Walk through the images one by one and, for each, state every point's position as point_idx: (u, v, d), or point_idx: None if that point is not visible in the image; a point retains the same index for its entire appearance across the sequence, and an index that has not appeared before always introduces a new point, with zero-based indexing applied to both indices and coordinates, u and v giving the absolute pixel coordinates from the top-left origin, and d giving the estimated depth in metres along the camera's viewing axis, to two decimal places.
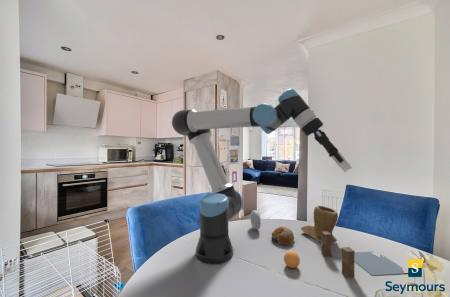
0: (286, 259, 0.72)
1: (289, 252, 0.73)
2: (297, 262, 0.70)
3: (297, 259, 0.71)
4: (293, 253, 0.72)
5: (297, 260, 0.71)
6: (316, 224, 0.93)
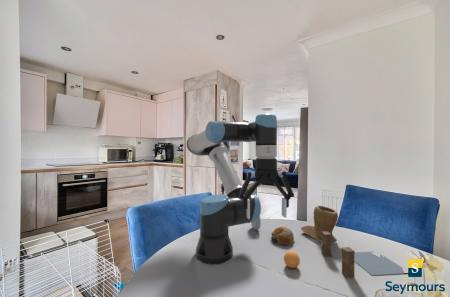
0: (286, 259, 0.72)
1: (289, 252, 0.73)
2: (297, 262, 0.70)
3: (297, 259, 0.71)
4: (293, 253, 0.72)
5: (297, 260, 0.71)
6: (316, 224, 0.93)
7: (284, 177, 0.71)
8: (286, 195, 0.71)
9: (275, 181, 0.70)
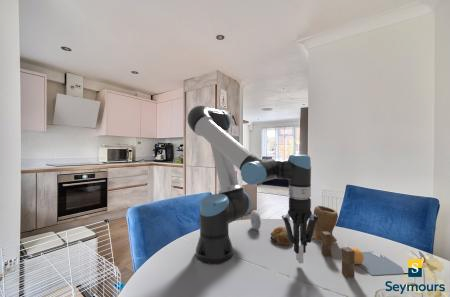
0: (362, 254, 0.74)
1: None
2: (358, 262, 0.72)
3: (358, 263, 0.73)
4: None
5: (358, 263, 0.72)
6: (316, 224, 0.93)
7: (314, 221, 0.72)
8: (304, 240, 0.72)
9: (305, 222, 0.71)
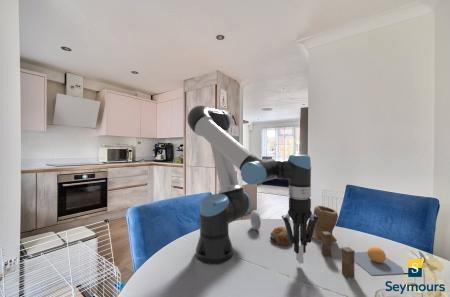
0: (373, 259, 0.74)
1: (370, 251, 0.75)
2: (383, 255, 0.73)
3: (381, 253, 0.73)
4: (374, 250, 0.75)
5: (382, 254, 0.73)
6: (316, 224, 0.93)
7: (314, 221, 0.72)
8: (304, 240, 0.72)
9: (305, 222, 0.71)
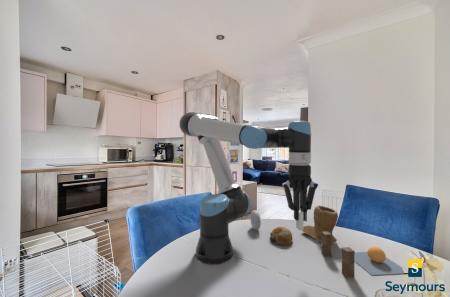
0: (373, 259, 0.74)
1: (370, 251, 0.75)
2: (383, 255, 0.73)
3: (381, 253, 0.73)
4: (374, 250, 0.75)
5: (382, 254, 0.73)
6: (316, 224, 0.93)
7: (314, 188, 0.72)
8: (304, 207, 0.72)
9: (305, 189, 0.71)
